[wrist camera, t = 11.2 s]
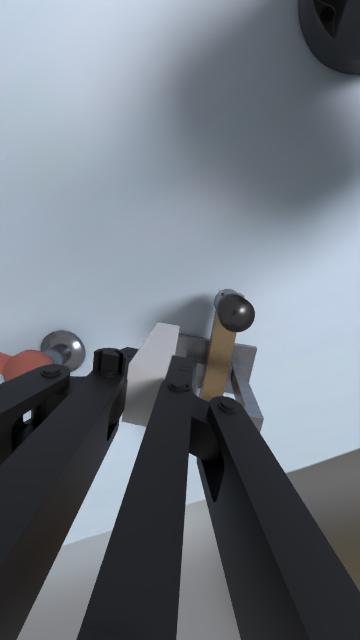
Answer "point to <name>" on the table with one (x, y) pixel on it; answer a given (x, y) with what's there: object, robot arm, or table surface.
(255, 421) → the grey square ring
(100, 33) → the table surface
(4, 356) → the red joystick lever
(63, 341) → the dark grey metal pedestal
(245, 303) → the hook bar
